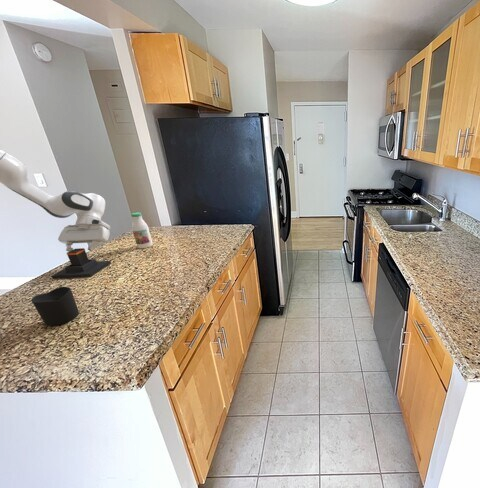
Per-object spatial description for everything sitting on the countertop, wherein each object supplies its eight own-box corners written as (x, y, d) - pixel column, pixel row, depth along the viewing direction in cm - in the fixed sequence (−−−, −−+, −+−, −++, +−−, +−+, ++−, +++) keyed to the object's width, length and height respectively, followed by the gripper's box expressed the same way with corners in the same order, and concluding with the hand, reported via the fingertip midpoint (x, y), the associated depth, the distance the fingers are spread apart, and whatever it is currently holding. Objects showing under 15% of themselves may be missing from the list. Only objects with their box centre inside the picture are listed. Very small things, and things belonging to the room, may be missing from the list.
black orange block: (73, 270, 121) (66, 252, 117) (81, 265, 126) (75, 248, 122) (82, 270, 121) (75, 252, 118) (91, 265, 126) (84, 248, 122)
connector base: (52, 278, 117) (49, 270, 115) (77, 264, 130) (74, 257, 128) (90, 276, 118) (87, 269, 117) (111, 263, 131) (108, 256, 130)
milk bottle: (141, 244, 155) (132, 211, 148) (155, 243, 156) (146, 211, 148) (134, 249, 148) (124, 215, 141) (148, 248, 149) (139, 214, 141)
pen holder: (73, 323, 88) (61, 298, 84) (37, 330, 85) (24, 304, 81) (85, 308, 96) (75, 284, 92) (53, 313, 93) (42, 289, 89)
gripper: (59, 222, 124) (49, 249, 118) (105, 220, 125) (97, 247, 120) (70, 228, 129) (61, 254, 124) (114, 226, 131) (107, 252, 126)
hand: (79, 250), depth 122 cm, fingers open, 8 cm apart
